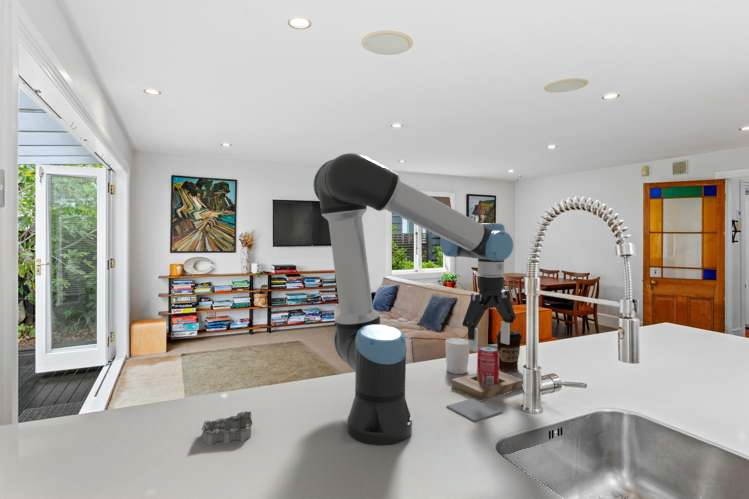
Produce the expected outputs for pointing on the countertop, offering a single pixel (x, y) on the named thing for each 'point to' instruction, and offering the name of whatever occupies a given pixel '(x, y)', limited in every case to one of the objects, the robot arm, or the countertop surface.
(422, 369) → the countertop surface
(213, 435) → the egg carton
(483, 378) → the soda can
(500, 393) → the walnut holder
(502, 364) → the coffee cup
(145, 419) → the countertop surface
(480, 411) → the grey rubber mat
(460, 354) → the white cup
